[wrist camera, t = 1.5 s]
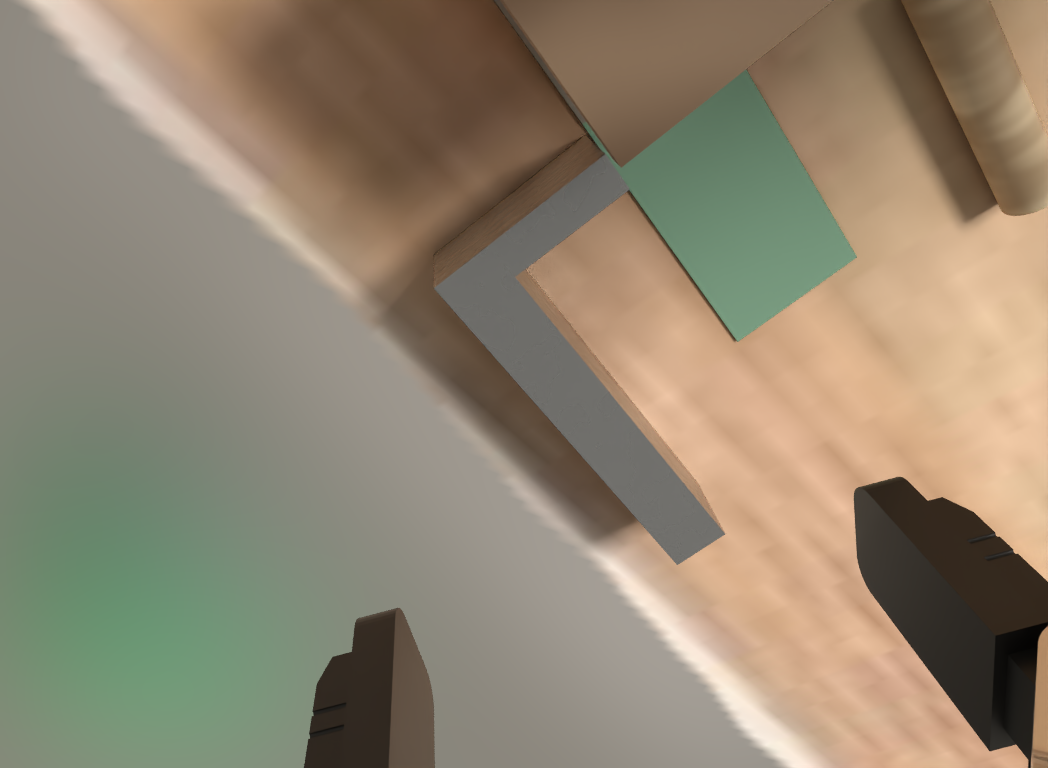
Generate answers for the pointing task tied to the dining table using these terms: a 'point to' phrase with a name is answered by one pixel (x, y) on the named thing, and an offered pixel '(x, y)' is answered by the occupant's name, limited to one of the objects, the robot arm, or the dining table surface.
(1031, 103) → the dowel
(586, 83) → the brown wooden box
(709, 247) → the green flat plank
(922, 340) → the dining table surface
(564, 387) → the crook
